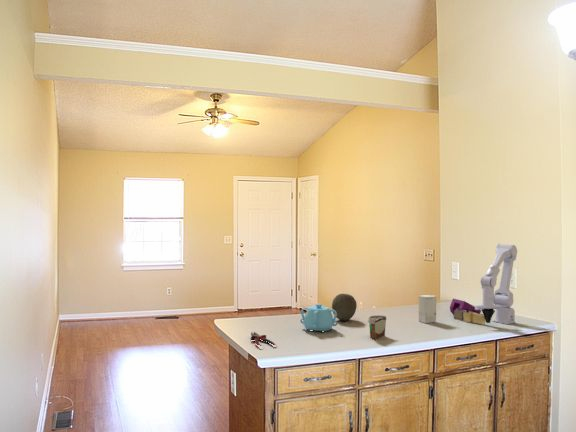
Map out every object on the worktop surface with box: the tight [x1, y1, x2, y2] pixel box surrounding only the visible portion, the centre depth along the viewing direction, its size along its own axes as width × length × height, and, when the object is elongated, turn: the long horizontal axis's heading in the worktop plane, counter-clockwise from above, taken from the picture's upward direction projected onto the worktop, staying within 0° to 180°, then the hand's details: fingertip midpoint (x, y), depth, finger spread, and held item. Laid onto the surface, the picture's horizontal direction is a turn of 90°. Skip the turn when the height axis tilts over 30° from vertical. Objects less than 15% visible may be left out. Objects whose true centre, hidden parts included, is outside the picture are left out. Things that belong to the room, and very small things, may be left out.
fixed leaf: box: [453, 310, 467, 322], centre depth 280 cm, size 7×2×6 cm, turn 35°
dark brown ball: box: [331, 293, 357, 322], centre depth 277 cm, size 14×14×15 cm
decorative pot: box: [299, 303, 338, 332], centre depth 255 cm, size 16×16×14 cm
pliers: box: [250, 331, 277, 346], centre depth 230 cm, size 3×9×22 cm
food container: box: [367, 315, 387, 341], centre depth 241 cm, size 12×6×10 cm, turn 141°
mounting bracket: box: [449, 298, 482, 315], centre depth 295 cm, size 10×8×18 cm
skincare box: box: [418, 294, 437, 324], centre depth 275 cm, size 8×6×15 cm
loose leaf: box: [463, 311, 486, 326], centre depth 273 cm, size 11×5×5 cm, turn 35°
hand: (487, 322), depth 266 cm, fingers closed
